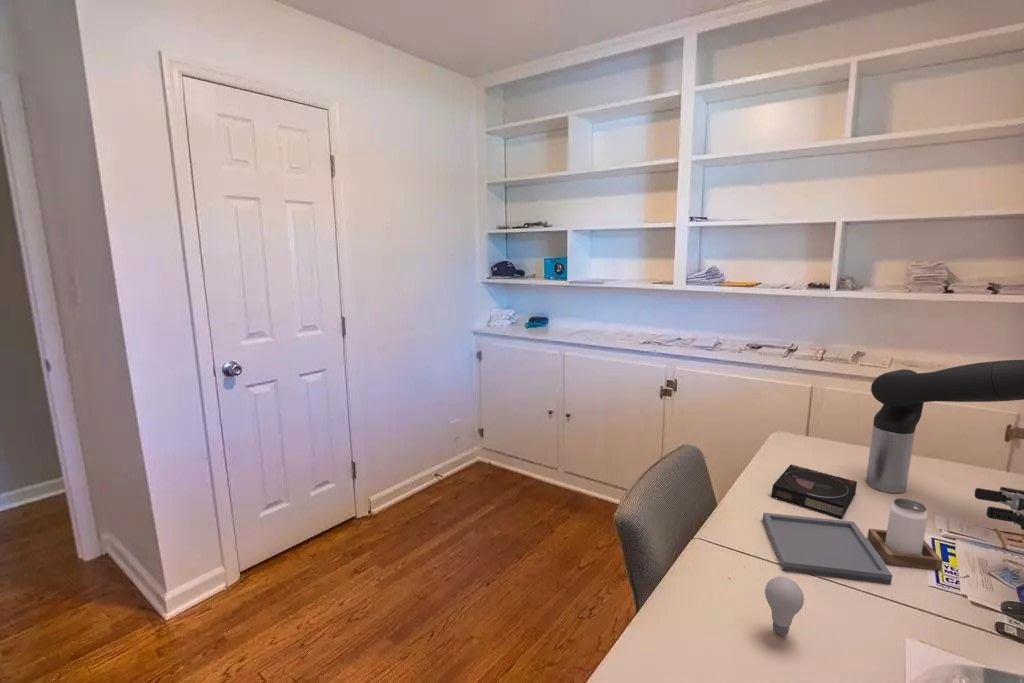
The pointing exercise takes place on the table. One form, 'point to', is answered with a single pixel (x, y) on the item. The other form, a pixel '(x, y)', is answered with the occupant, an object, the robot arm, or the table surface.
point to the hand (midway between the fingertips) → (981, 502)
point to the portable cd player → (815, 490)
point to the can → (906, 527)
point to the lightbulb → (783, 602)
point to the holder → (905, 560)
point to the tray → (824, 548)
